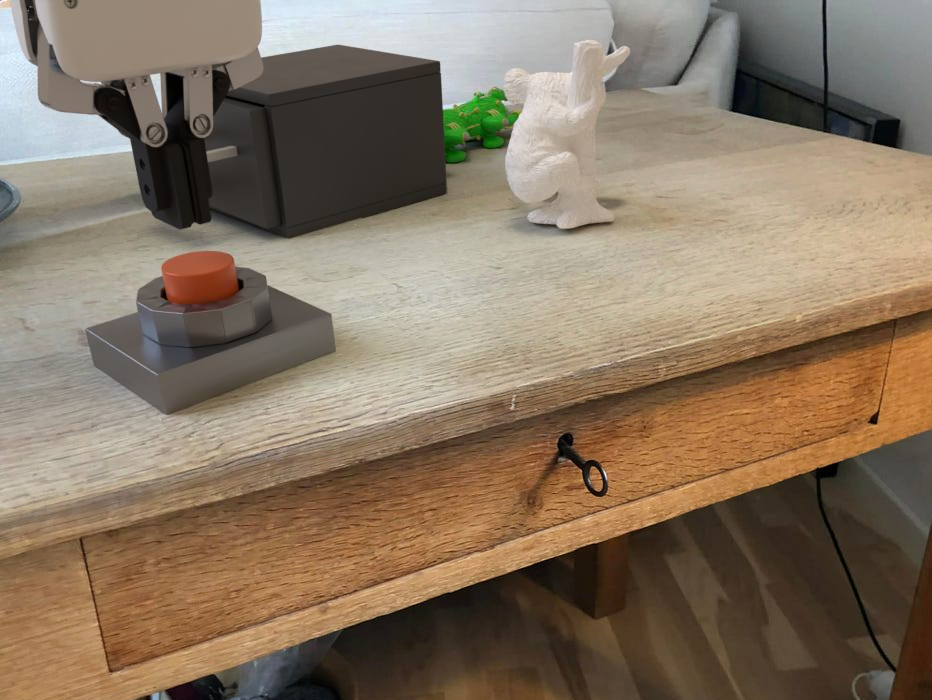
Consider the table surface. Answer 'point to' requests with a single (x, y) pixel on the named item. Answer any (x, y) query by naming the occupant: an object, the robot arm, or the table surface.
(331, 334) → the button block
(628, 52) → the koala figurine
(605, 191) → the table surface
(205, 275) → the button
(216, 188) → the drawer
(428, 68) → the storage box
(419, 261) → the table surface
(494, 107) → the crocodile figurine
